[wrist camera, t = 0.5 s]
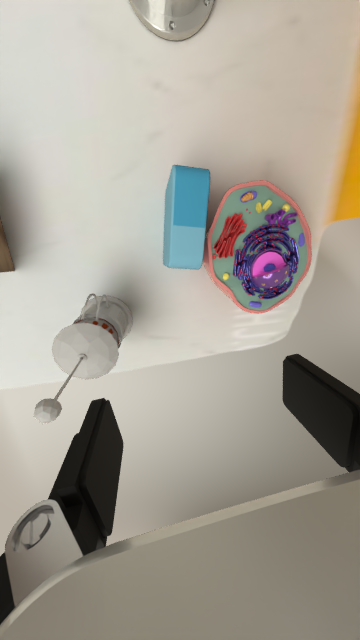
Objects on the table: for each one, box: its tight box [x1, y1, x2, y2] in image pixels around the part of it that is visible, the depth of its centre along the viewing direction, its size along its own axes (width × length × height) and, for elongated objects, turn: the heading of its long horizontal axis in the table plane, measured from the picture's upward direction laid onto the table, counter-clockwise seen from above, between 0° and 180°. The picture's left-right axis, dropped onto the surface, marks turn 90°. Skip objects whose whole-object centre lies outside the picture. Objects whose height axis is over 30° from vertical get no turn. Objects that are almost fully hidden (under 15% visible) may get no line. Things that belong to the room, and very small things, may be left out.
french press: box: [34, 294, 133, 423], centre depth 27 cm, size 10×12×25 cm
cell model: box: [203, 180, 312, 313], centre depth 33 cm, size 17×20×11 cm
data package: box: [163, 165, 210, 269], centre depth 30 cm, size 12×4×12 cm, turn 176°
